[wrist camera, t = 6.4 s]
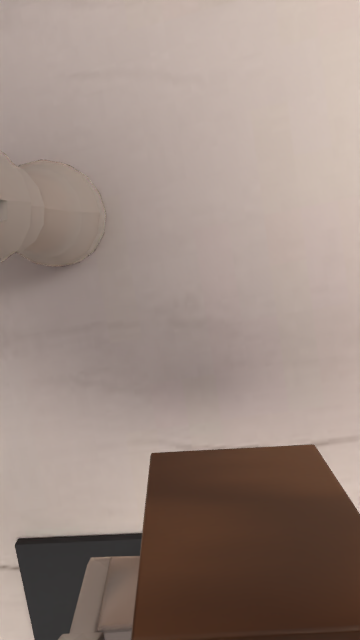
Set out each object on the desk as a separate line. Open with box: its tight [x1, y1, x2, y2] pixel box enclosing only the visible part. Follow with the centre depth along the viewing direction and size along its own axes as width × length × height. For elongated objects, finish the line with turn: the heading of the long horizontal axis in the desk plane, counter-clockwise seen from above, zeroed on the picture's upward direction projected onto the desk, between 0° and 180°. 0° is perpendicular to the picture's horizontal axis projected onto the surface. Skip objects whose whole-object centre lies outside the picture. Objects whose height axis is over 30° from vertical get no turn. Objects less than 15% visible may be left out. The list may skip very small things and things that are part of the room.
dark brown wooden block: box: [131, 445, 360, 640], centre depth 8 cm, size 4×4×5 cm
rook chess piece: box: [0, 151, 106, 267], centre depth 12 cm, size 4×4×8 cm
